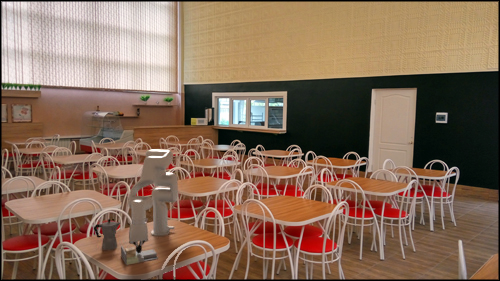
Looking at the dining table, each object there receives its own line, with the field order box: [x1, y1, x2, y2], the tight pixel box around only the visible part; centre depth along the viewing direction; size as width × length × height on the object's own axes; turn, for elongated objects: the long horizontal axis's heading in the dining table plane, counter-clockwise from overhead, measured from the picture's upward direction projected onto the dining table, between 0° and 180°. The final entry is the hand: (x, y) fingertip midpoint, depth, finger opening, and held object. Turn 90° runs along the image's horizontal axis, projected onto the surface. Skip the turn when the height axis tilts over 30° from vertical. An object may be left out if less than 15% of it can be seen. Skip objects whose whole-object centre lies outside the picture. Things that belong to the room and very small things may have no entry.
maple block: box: [124, 246, 136, 258], centre depth 211 cm, size 5×4×4 cm
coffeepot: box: [93, 218, 121, 251], centre depth 226 cm, size 15×9×18 cm, turn 119°
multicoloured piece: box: [120, 245, 159, 266], centre depth 214 cm, size 18×14×6 cm
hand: (138, 252), depth 213 cm, fingers closed
